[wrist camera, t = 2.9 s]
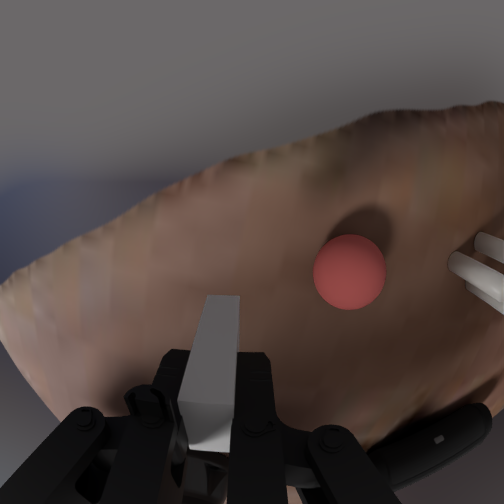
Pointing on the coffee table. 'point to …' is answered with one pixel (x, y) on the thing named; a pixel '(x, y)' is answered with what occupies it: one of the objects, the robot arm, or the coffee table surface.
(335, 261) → the ball
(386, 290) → the coffee table surface
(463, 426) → the portable speaker
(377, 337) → the coffee table surface
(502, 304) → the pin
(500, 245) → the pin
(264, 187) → the coffee table surface
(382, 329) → the coffee table surface
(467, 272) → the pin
